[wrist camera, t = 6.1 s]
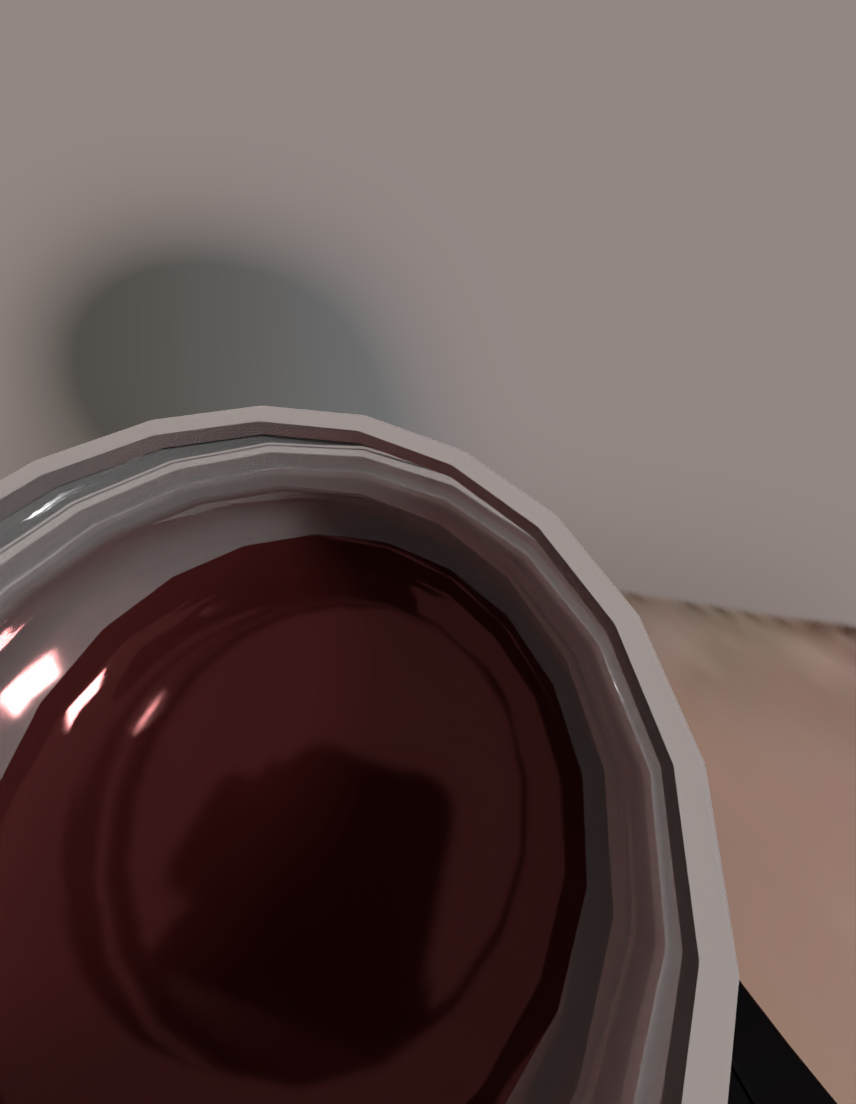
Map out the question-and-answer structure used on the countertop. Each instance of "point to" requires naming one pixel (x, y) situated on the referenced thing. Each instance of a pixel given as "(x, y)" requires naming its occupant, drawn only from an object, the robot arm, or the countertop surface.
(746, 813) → the countertop surface
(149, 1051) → the wineglass
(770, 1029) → the robot arm
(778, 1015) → the countertop surface
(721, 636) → the countertop surface
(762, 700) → the countertop surface
